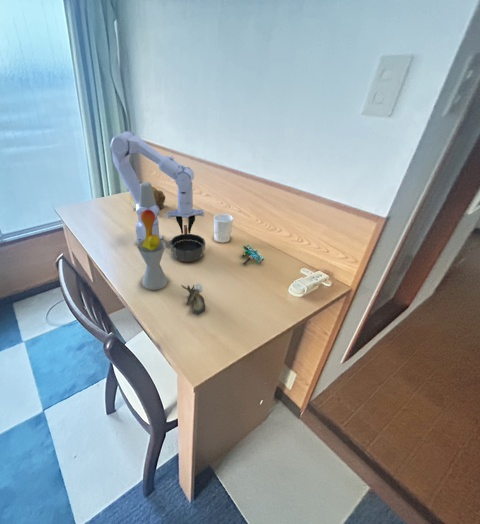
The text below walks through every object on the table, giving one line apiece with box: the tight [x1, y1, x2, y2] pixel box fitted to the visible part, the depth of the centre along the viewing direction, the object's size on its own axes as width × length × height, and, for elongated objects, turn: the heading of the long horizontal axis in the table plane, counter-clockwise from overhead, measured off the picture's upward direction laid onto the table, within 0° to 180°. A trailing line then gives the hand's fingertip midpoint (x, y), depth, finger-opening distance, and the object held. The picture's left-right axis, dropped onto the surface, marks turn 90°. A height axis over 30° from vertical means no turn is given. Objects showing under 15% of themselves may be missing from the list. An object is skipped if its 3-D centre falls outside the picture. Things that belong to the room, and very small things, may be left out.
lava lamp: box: [136, 181, 168, 291], centre depth 88 cm, size 9×9×35 cm
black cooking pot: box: [169, 224, 206, 263], centre depth 110 cm, size 16×13×8 cm
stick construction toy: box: [241, 244, 265, 266], centre depth 106 cm, size 12×7×8 cm
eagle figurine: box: [181, 283, 206, 316], centre depth 86 cm, size 8×7×9 cm
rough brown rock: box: [128, 180, 166, 210], centre depth 148 cm, size 23×17×15 cm
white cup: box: [213, 213, 234, 243], centre depth 119 cm, size 8×8×10 cm
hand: (185, 232), depth 116 cm, fingers closed
